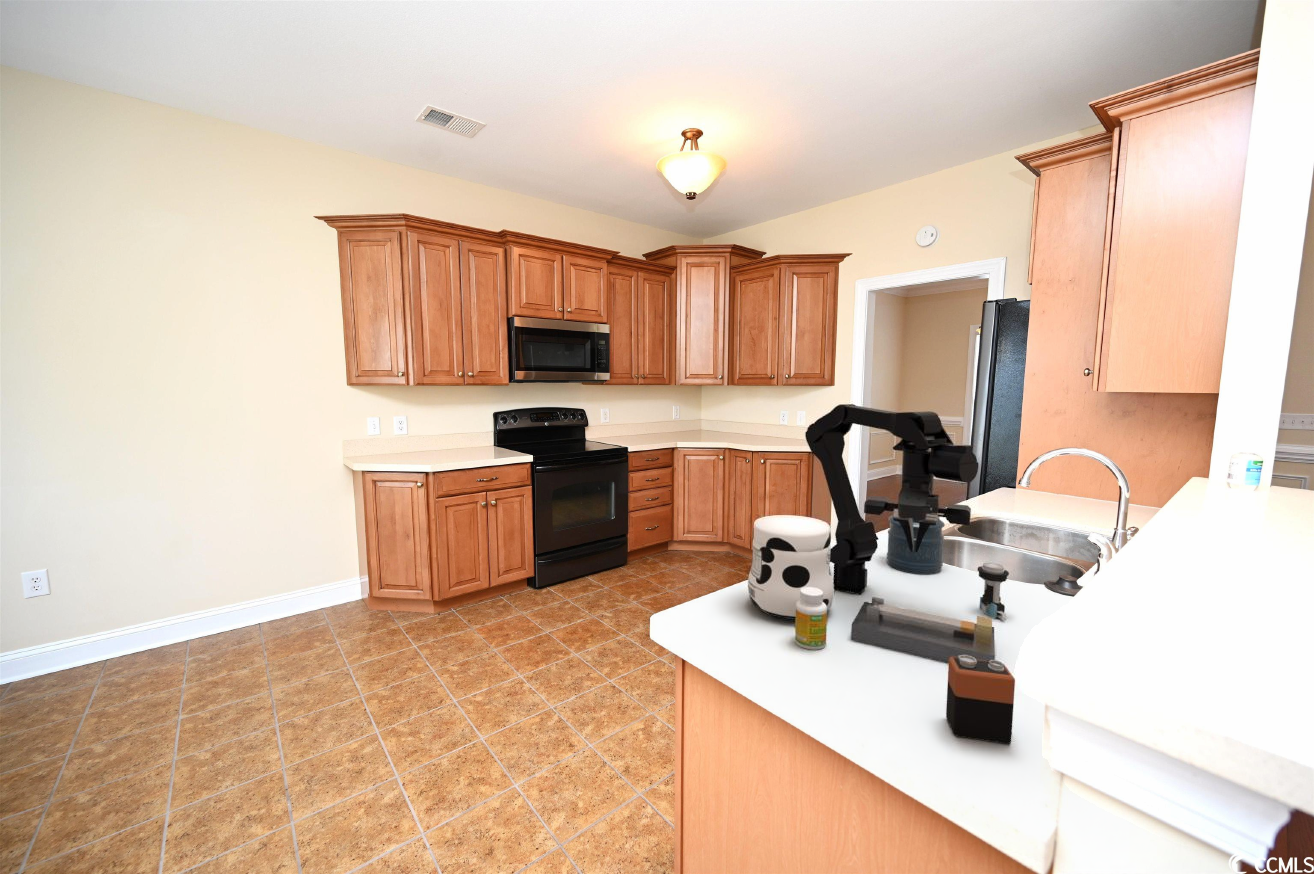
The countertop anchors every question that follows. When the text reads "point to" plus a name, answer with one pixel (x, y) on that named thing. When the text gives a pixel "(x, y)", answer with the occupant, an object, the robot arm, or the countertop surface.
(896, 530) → the canister
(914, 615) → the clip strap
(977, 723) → the battery
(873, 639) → the grey lever base
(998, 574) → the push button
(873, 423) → the robot arm
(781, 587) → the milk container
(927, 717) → the countertop surface
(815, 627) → the supplement bottle
